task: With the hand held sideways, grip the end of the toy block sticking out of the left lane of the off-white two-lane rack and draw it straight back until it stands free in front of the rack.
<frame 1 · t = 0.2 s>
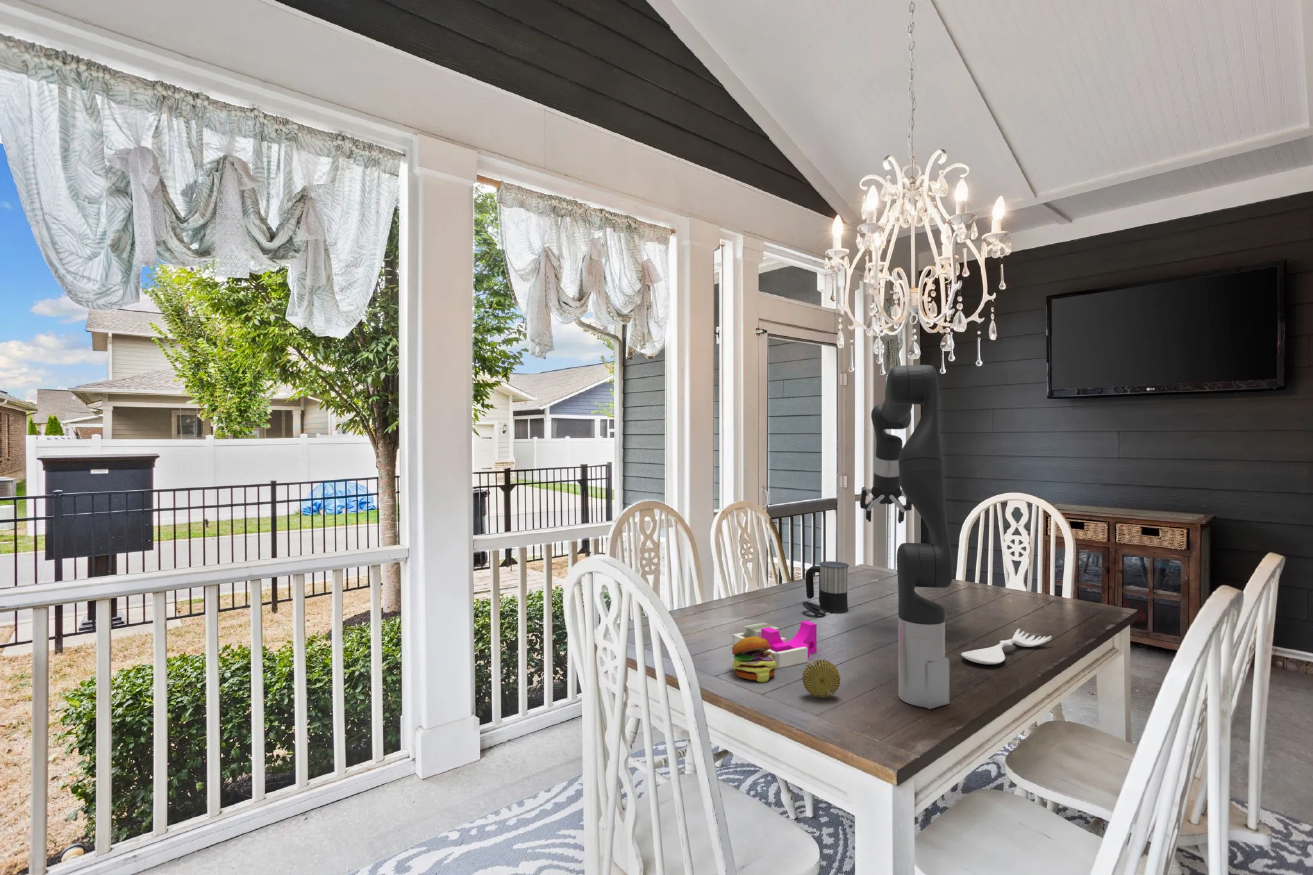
hand: (884, 521, 194), 31 cm above the table, fingers open, 8 cm apart
white long tined part: (1005, 655, 168), on the table
toy block: (792, 657, 167), on the table
milk frother: (825, 612, 208), on the table
lane rack: (769, 654, 168), on the table
cheeseburger: (753, 675, 155), on the table
sculpture: (821, 698, 141), on the table
sage block: (761, 649, 172), on the table
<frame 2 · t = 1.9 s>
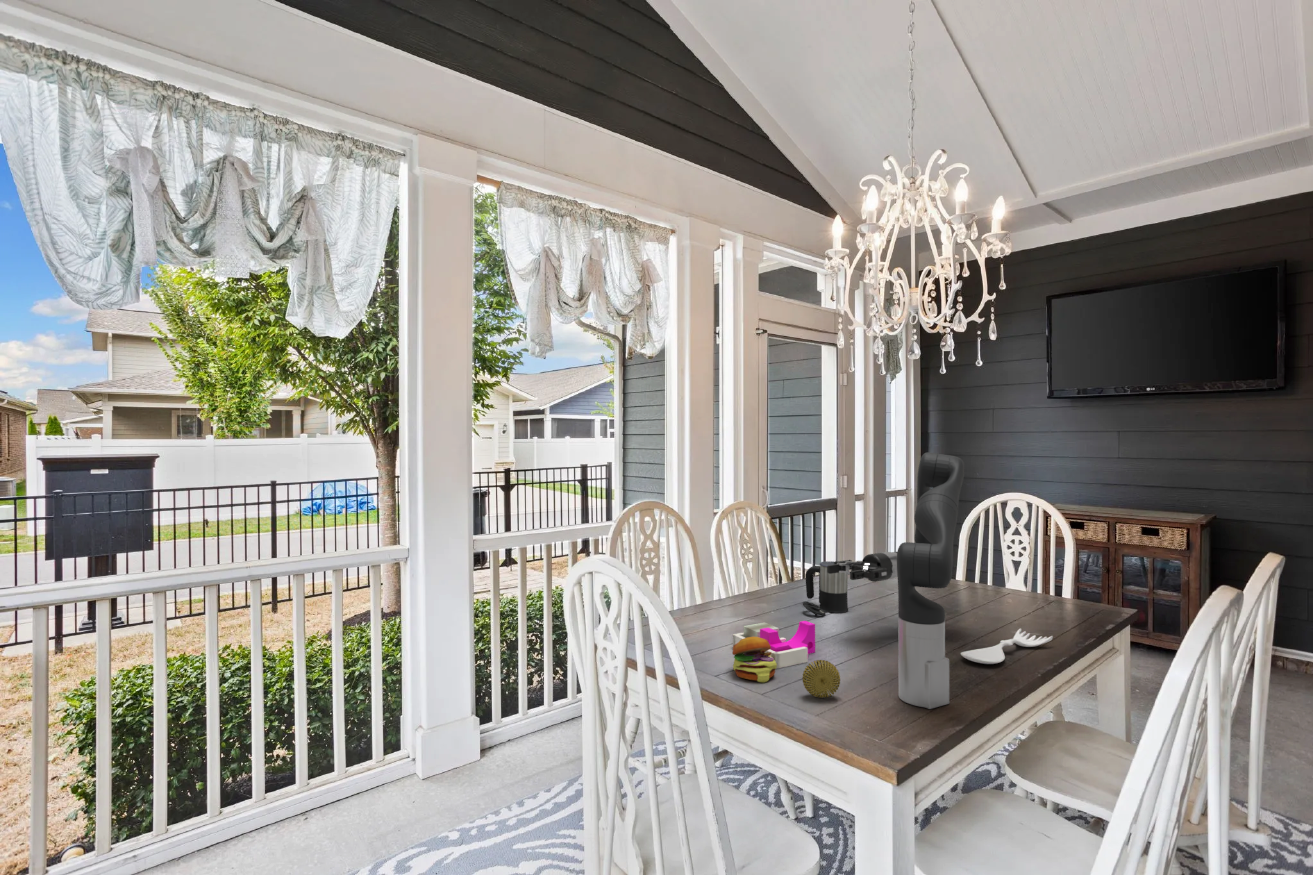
hand: (839, 572, 174), 20 cm above the table, fingers open, 8 cm apart
nothing on the table moved.
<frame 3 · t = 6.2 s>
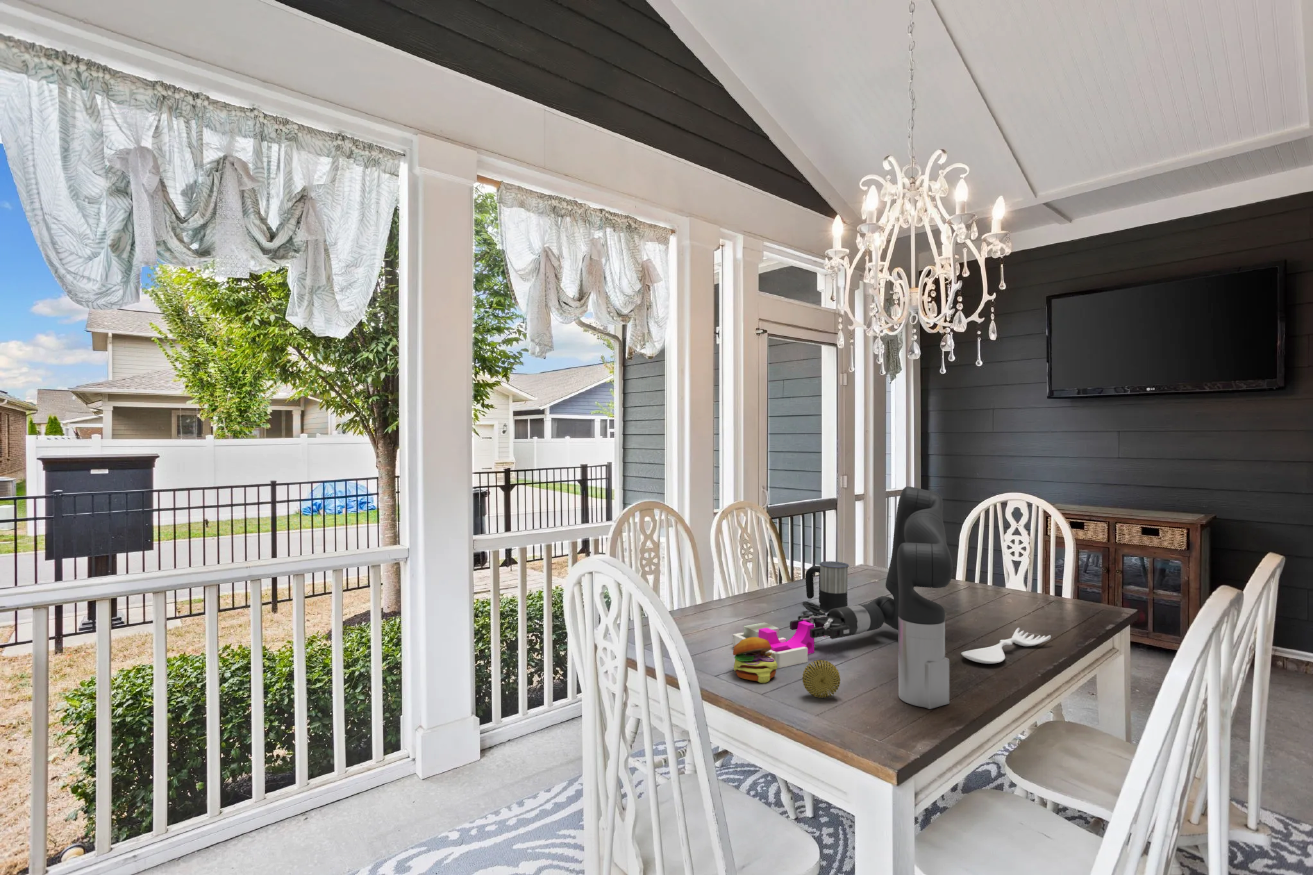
hand: (800, 629, 168), 6 cm above the table, fingers open, 7 cm apart
toy block: (789, 658, 167), on the table, touching gripper
everything else where it was.
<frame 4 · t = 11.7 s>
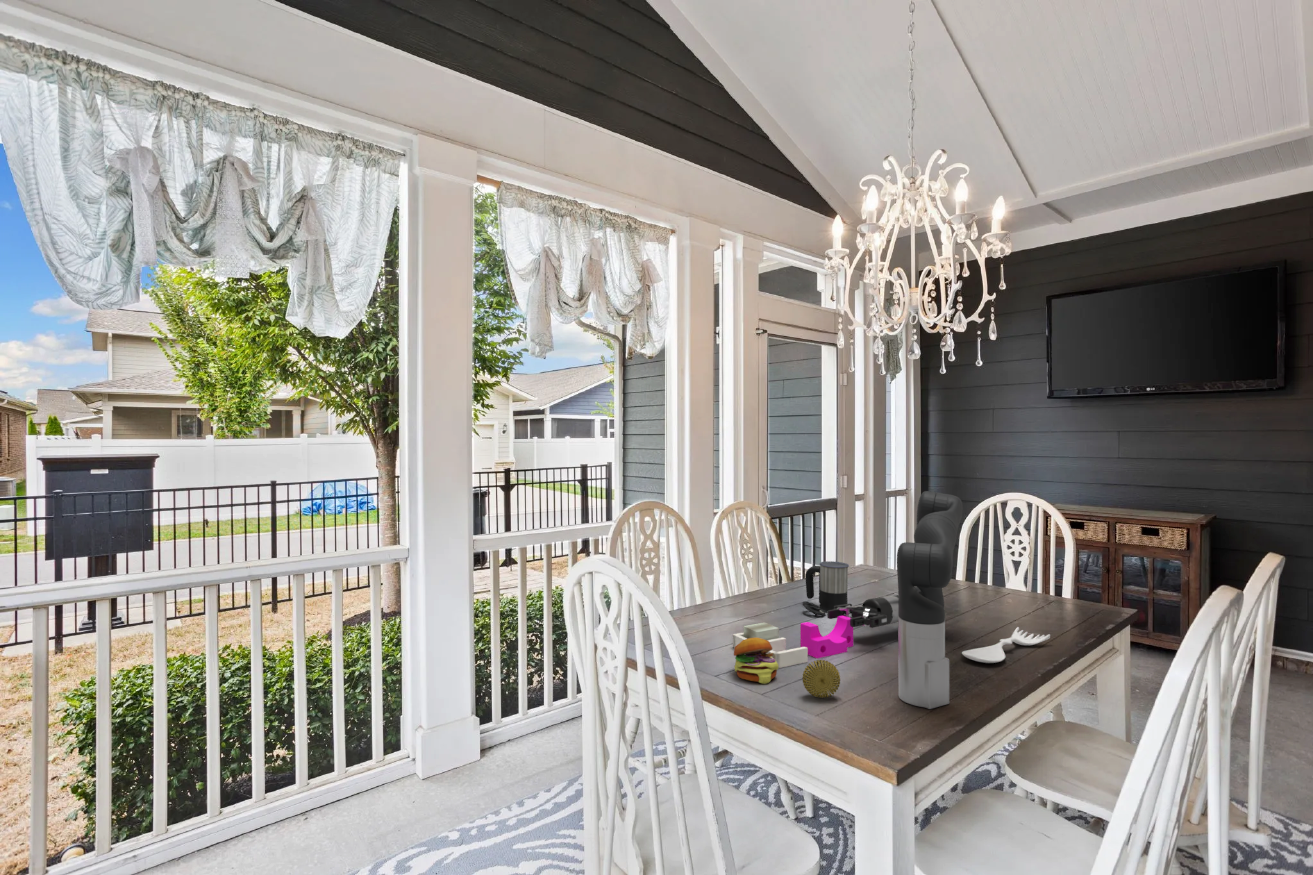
hand: (839, 618, 174), 8 cm above the table, fingers open, 8 cm apart
toy block: (830, 651, 172), on the table
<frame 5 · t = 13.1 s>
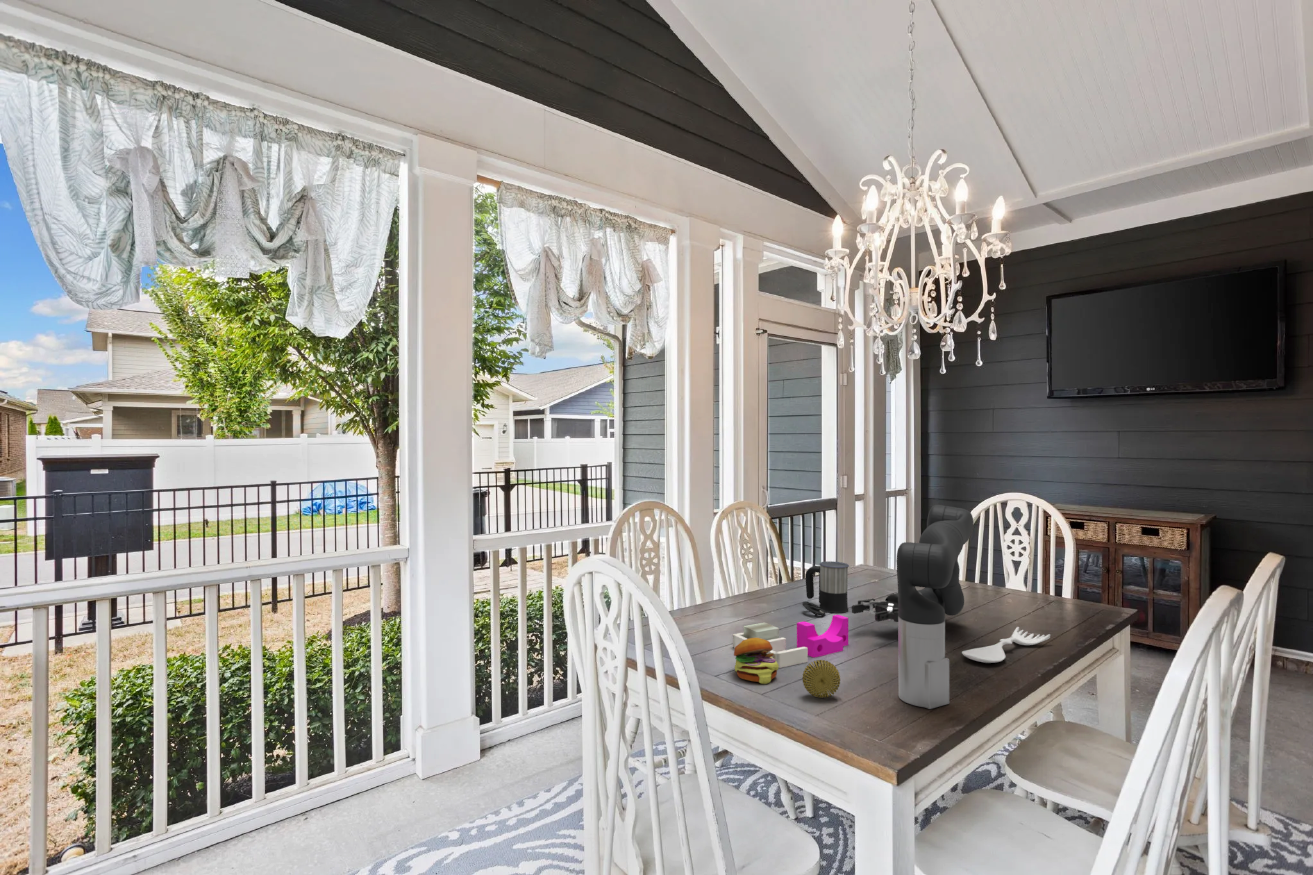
hand: (864, 613, 178), 8 cm above the table, fingers open, 8 cm apart
toy block: (826, 650, 172), on the table
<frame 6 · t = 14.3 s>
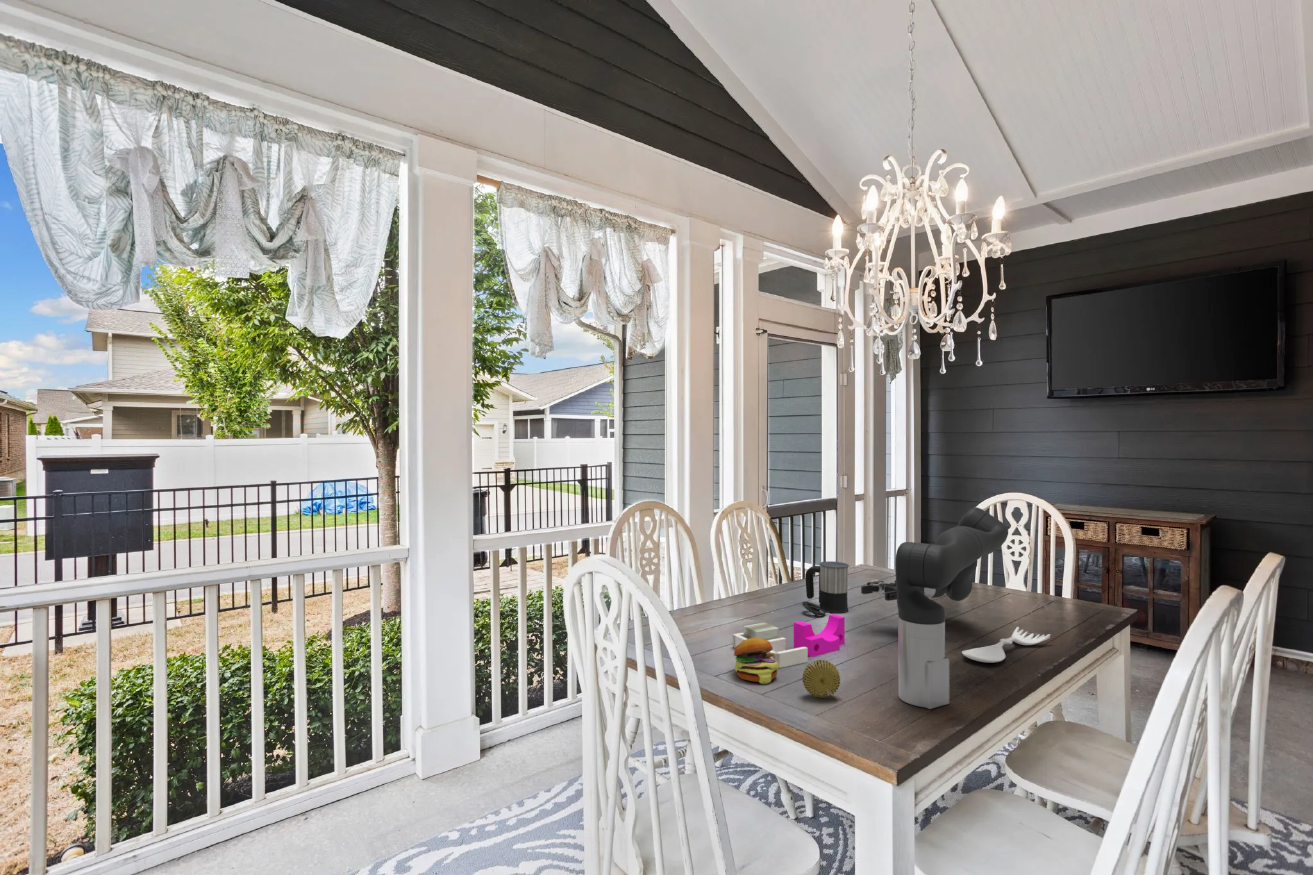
hand: (873, 593, 180), 13 cm above the table, fingers open, 8 cm apart
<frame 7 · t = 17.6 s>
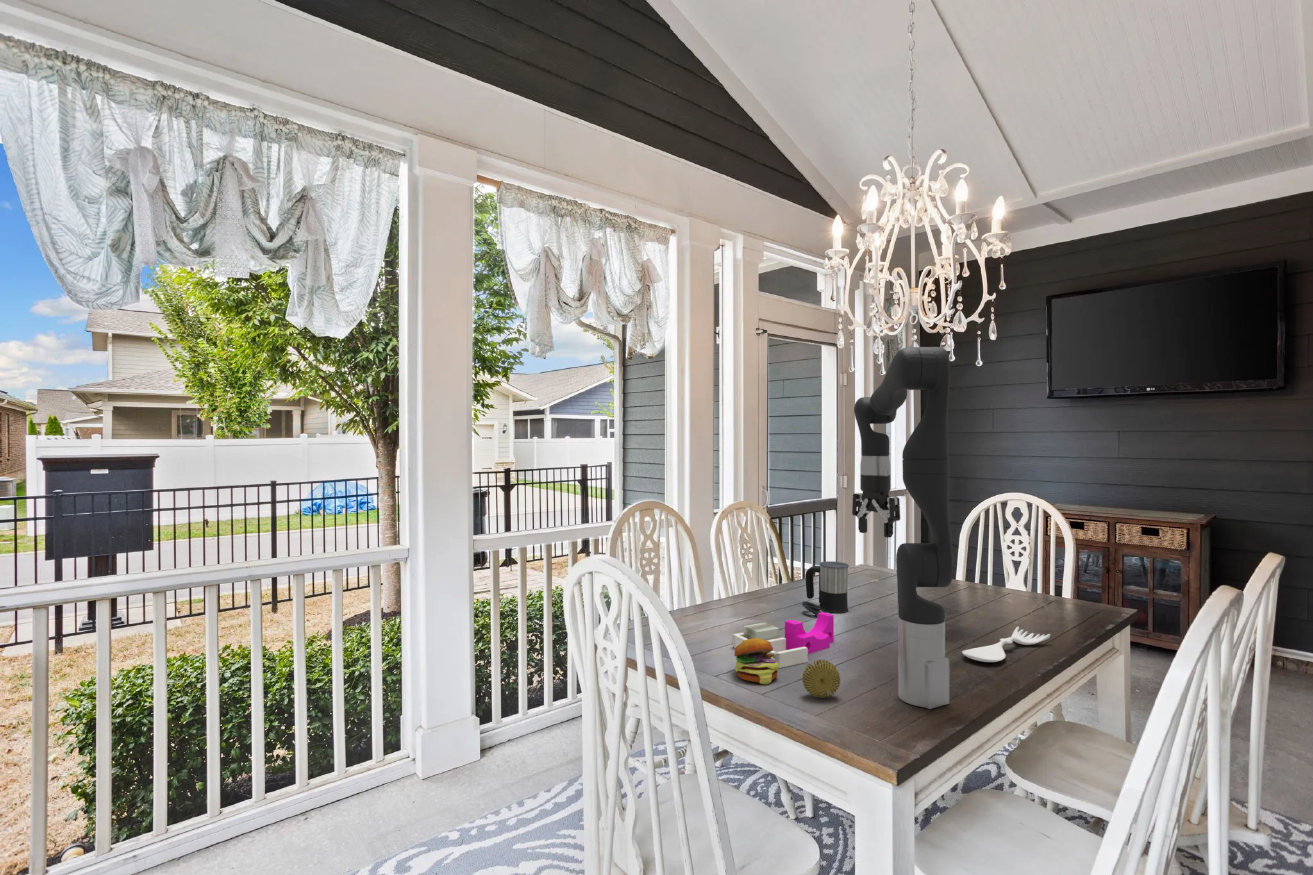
hand: (875, 534, 172), 30 cm above the table, fingers open, 8 cm apart
toy block: (813, 647, 175), on the table
at the end: toy block inside the target area (5.1 cm from its centre), on the table; toy block tilted 0°; the gripper is holding nothing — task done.
